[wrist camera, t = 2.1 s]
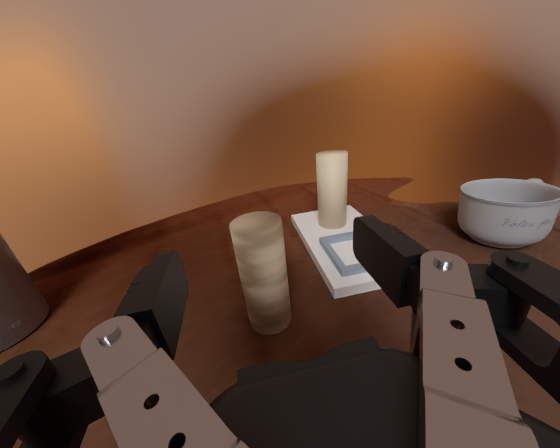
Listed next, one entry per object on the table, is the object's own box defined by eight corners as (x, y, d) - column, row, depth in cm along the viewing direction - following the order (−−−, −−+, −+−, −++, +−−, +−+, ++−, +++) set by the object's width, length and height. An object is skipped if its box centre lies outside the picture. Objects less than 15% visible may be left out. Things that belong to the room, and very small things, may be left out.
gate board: (425, 279, 32) (446, 173, 26) (334, 299, 30) (333, 191, 24) (349, 211, 51) (351, 142, 45) (291, 222, 50) (285, 151, 44)
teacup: (501, 265, 32) (522, 208, 29) (434, 229, 42) (443, 183, 38) (581, 242, 35) (608, 187, 32) (500, 213, 45) (514, 168, 41)
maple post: (240, 321, 28) (218, 226, 23) (268, 296, 32) (255, 208, 26) (272, 342, 25) (256, 240, 20) (300, 312, 29) (292, 217, 23)
